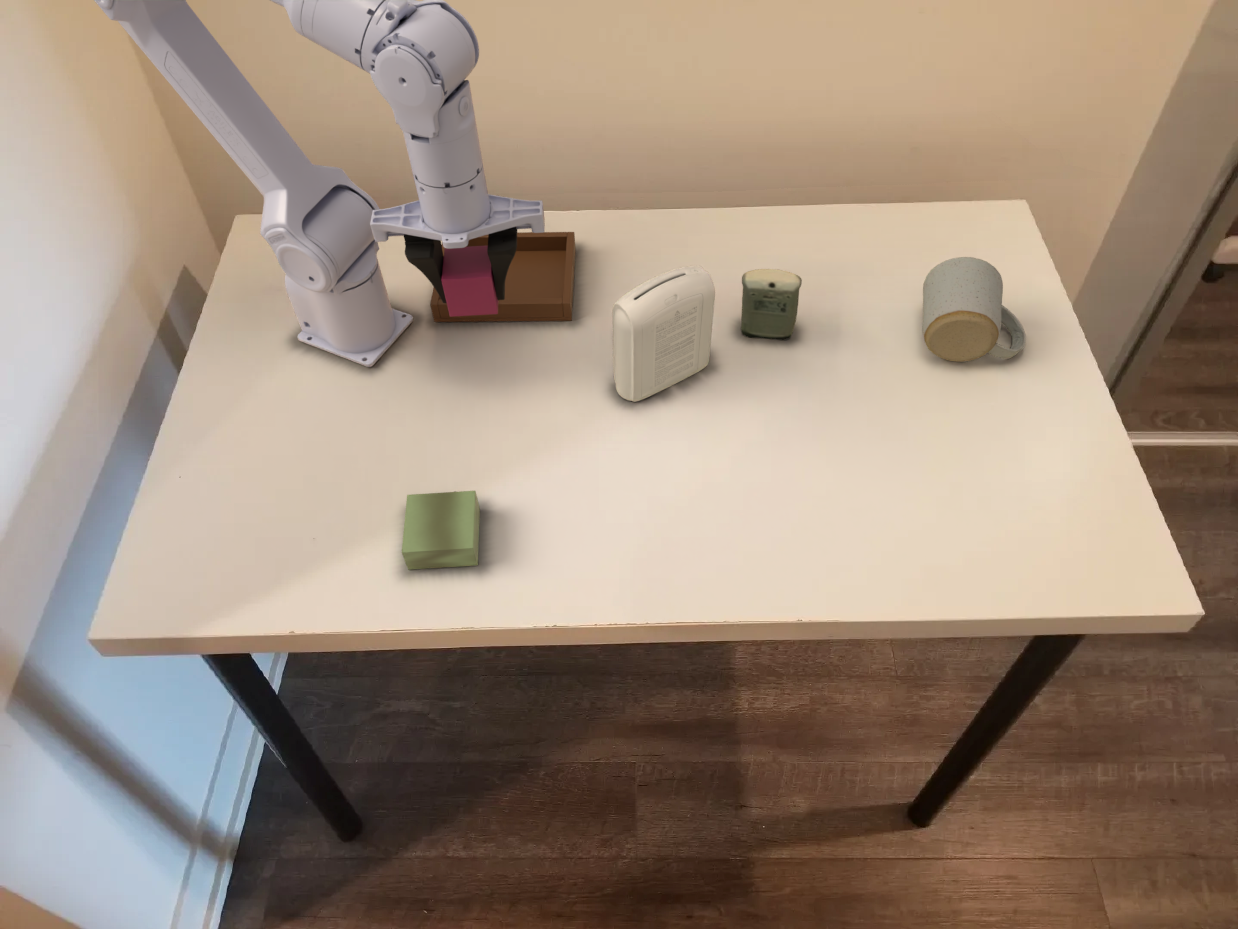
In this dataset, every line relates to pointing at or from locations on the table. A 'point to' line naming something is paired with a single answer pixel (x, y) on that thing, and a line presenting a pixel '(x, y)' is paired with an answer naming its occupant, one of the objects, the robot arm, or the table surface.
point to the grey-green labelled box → (769, 303)
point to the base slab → (441, 530)
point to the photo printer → (662, 331)
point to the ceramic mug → (967, 311)
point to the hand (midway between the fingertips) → (473, 294)
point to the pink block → (469, 282)
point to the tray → (529, 281)
